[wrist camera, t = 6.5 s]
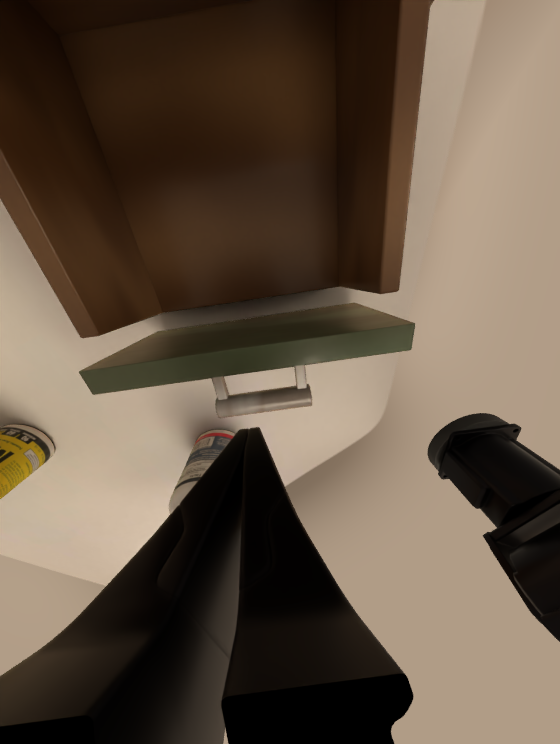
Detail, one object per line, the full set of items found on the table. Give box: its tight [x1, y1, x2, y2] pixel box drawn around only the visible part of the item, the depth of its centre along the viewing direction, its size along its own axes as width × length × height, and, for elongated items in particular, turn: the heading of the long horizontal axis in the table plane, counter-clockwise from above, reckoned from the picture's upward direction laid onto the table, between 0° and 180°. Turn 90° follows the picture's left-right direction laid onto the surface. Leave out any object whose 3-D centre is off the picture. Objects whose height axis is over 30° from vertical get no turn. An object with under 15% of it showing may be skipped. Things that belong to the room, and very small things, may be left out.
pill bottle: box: [169, 430, 235, 514], centre depth 17 cm, size 5×5×9 cm
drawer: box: [0, 0, 431, 418], centre depth 10 cm, size 19×14×7 cm
